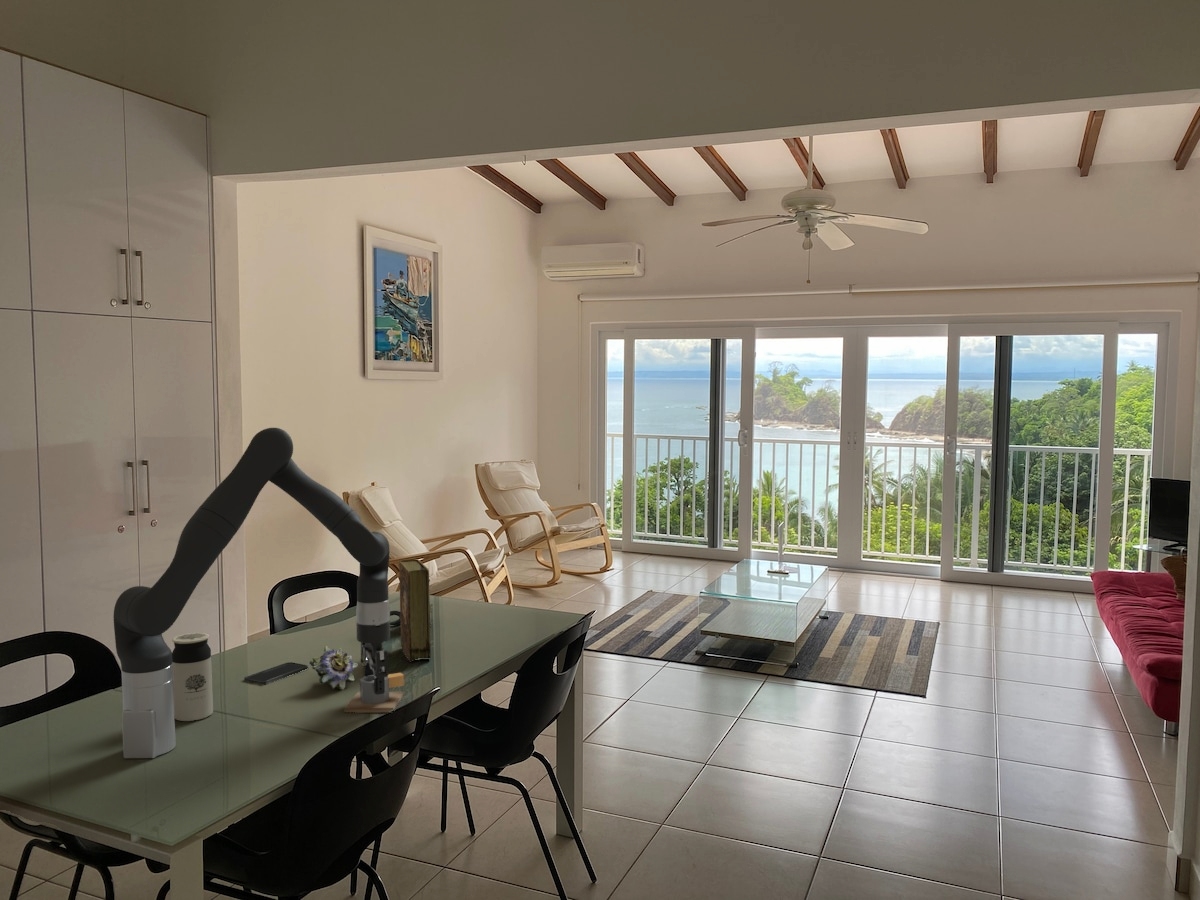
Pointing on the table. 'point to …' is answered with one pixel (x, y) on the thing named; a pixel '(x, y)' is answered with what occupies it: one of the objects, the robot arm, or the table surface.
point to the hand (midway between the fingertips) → (374, 688)
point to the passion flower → (334, 668)
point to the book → (414, 609)
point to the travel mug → (192, 677)
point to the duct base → (387, 706)
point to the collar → (368, 688)
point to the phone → (275, 673)
